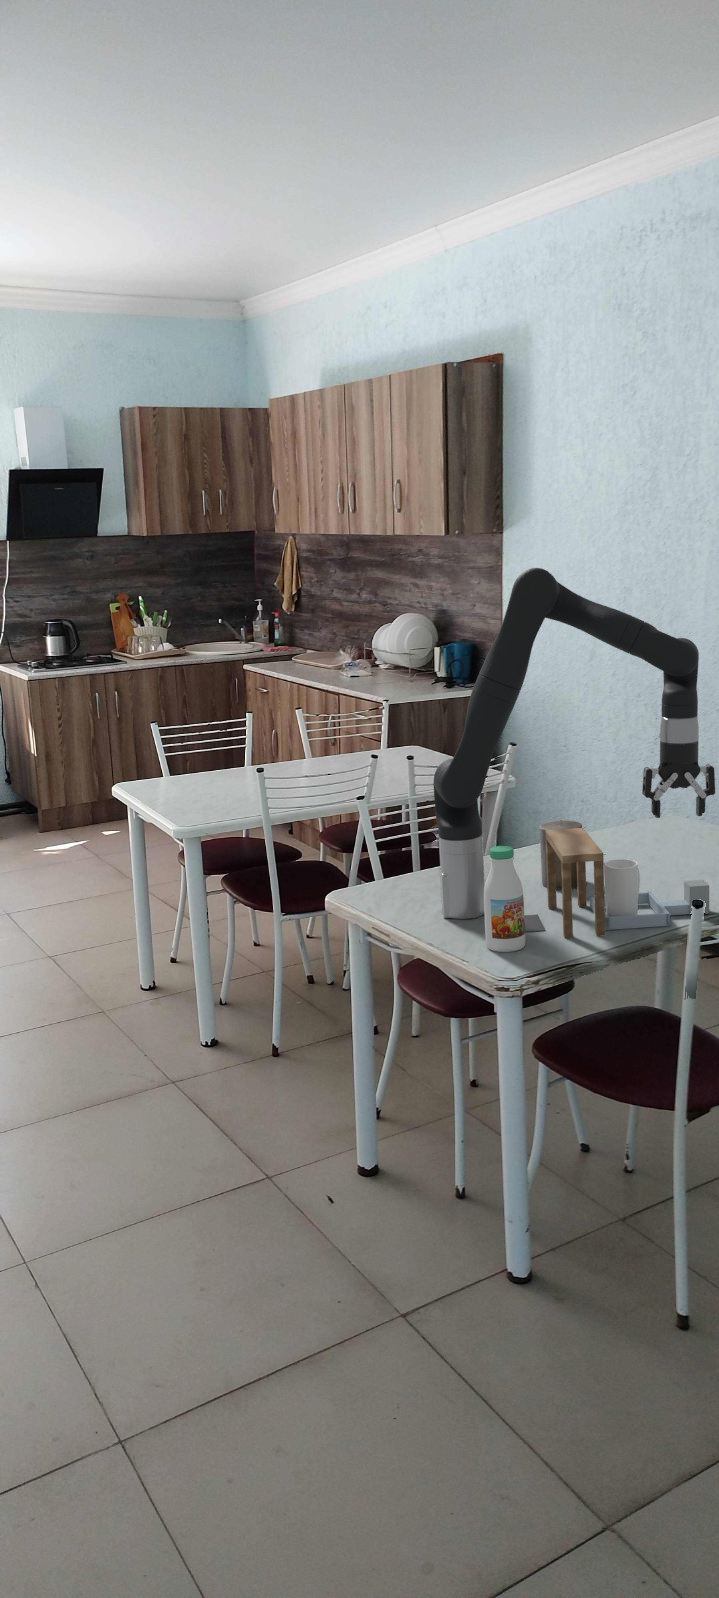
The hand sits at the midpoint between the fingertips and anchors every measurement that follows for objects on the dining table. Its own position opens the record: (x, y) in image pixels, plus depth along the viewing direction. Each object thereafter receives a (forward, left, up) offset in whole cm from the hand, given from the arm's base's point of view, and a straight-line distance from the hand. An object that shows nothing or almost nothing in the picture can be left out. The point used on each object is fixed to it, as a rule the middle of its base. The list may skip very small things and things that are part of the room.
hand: (678, 816), depth 239 cm
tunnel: (-22, -3, -20) cm, 30 cm away
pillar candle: (-20, +23, -20) cm, 37 cm away
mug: (-12, -3, -20) cm, 23 cm away
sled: (-7, -3, -20) cm, 21 cm away
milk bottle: (-38, -15, -20) cm, 46 cm away
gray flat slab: (-32, -3, -20) cm, 38 cm away
